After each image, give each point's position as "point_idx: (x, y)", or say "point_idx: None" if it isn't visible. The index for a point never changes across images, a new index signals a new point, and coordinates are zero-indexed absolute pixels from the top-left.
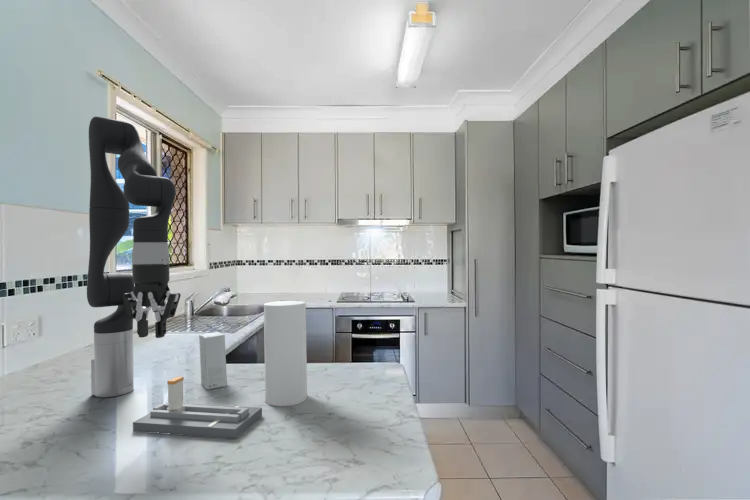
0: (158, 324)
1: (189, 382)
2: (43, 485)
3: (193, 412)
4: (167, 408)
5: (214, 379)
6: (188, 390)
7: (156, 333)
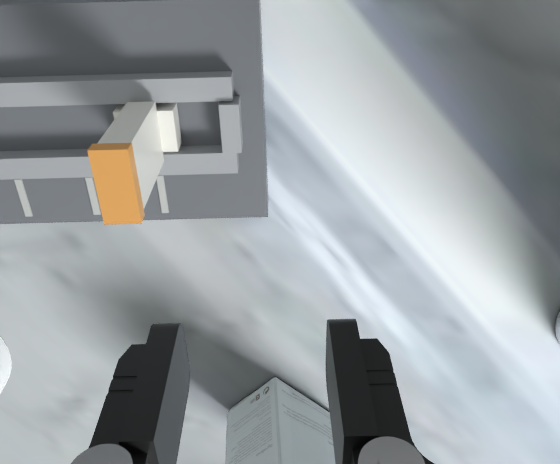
0: (127, 422)
1: None
2: None
3: (31, 101)
4: (168, 109)
5: (255, 415)
6: None
7: (163, 346)
